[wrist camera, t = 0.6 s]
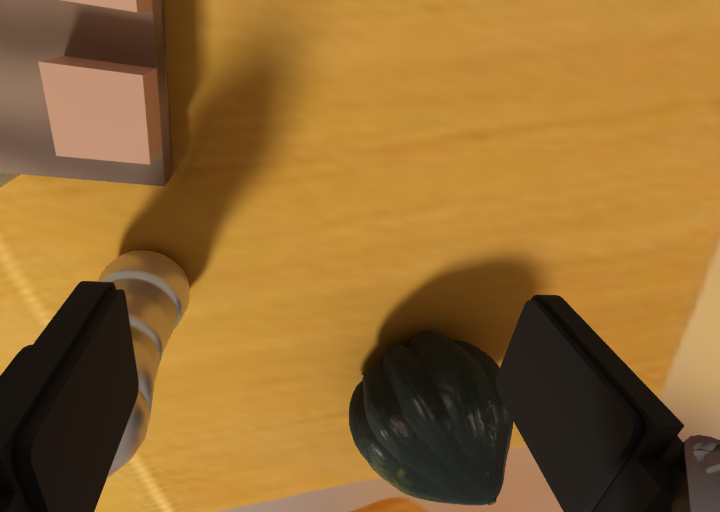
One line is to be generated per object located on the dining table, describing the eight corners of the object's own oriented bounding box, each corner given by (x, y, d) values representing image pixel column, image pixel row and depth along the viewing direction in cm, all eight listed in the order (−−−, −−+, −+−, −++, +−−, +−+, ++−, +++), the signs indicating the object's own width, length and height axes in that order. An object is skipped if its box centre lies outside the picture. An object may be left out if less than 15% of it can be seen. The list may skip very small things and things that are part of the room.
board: (-67, -199, 21) (-107, -223, 19) (153, -149, 23) (140, -164, 21) (17, 160, 30) (-4, 172, 27) (172, 174, 32) (164, 186, 29)
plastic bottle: (170, 229, 34) (51, 459, 17) (209, 295, 37) (144, 541, 20) (92, 254, 34) (-107, 510, 17) (138, 318, 37) (14, 583, 20)
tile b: (63, 55, 25) (38, 61, 22) (156, 68, 26) (142, 75, 23) (77, 141, 27) (56, 155, 25) (162, 150, 28) (150, 164, 26)
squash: (306, 386, 37) (392, 572, 32) (458, 297, 35) (572, 479, 30) (351, 377, 50) (416, 507, 46) (462, 313, 49) (542, 440, 44)
